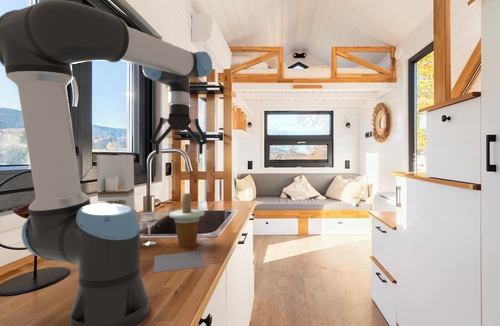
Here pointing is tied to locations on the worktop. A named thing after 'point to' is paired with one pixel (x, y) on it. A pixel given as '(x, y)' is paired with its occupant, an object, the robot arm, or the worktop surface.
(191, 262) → the mat
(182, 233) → the disposable coffee cup
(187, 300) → the worktop surface
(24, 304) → the worktop surface
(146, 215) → the wineglass
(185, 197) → the lid
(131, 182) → the grey box-shaped tower
